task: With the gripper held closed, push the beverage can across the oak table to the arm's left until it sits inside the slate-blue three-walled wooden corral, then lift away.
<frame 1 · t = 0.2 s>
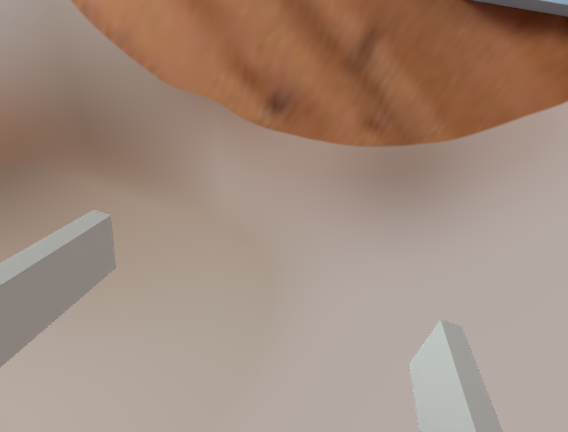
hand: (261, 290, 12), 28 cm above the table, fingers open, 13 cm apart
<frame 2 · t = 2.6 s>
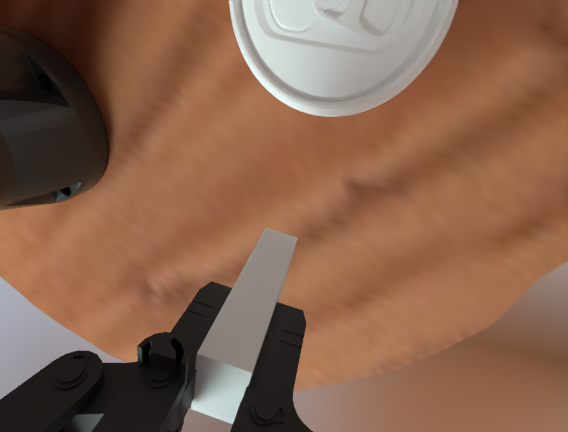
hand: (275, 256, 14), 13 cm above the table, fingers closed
beverage can: (345, 25, 20), on the table
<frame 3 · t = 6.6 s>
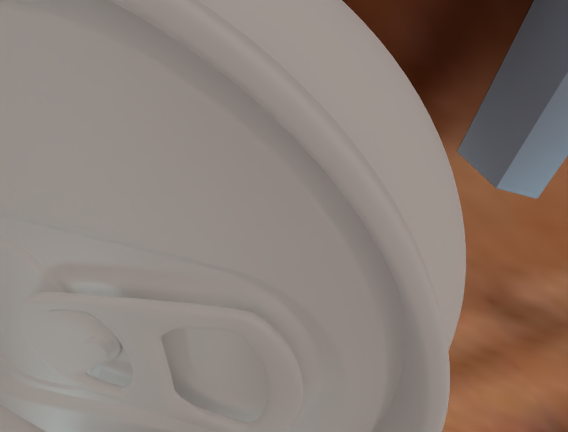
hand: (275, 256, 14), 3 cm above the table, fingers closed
beverage can: (290, 127, 14), on the table, touching gripper
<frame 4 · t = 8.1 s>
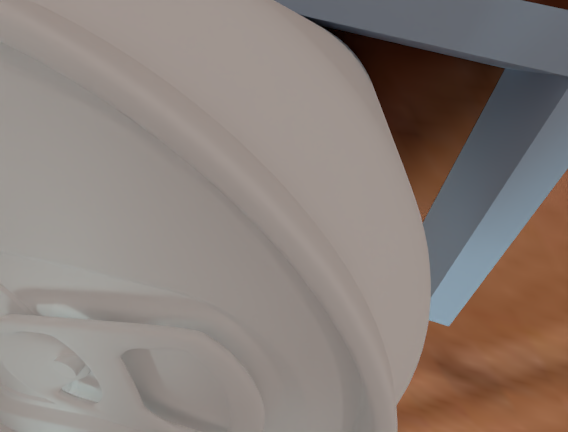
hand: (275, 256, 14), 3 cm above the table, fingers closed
beverage can: (284, 126, 13), on the table, touching corral, gripper, hand
corral: (304, 127, 13), on the table
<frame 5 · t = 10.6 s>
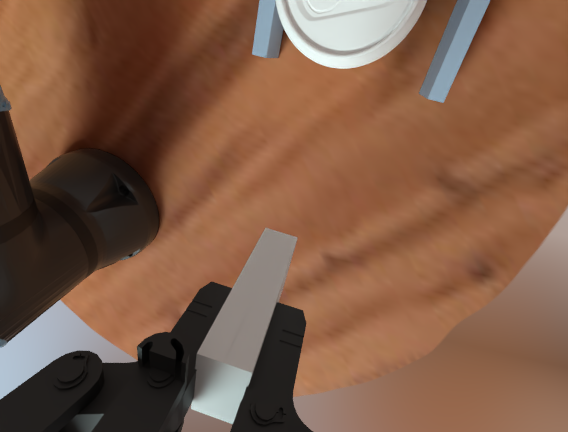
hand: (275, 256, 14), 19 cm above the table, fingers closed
beverage can: (354, 10, 25), on the table
corral: (366, 9, 24), on the table
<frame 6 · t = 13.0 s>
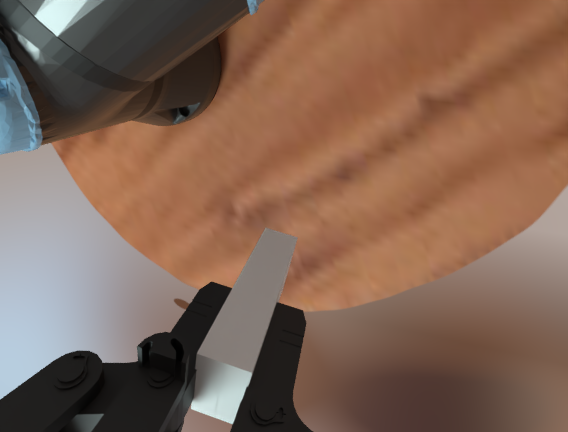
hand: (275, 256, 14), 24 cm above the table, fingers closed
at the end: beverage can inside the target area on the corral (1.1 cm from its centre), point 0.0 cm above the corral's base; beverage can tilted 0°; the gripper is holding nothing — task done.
